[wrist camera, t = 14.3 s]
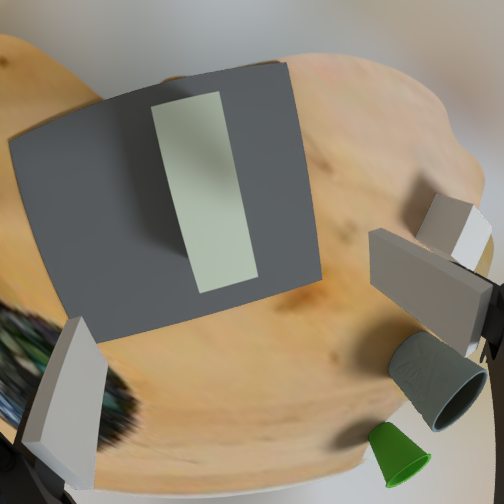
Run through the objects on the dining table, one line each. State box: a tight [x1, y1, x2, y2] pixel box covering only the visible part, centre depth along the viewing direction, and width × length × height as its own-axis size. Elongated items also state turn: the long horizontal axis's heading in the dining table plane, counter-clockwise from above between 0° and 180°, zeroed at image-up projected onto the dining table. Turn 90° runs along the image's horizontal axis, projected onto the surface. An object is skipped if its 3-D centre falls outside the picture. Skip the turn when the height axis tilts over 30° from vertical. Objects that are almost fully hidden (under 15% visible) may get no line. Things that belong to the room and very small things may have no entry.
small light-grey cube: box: [415, 193, 492, 271], centre depth 29 cm, size 6×6×6 cm
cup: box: [368, 422, 431, 488], centre depth 40 cm, size 9×9×11 cm
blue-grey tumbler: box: [388, 331, 487, 432], centre depth 33 cm, size 10×10×12 cm
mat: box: [9, 62, 322, 344], centre depth 24 cm, size 24×20×1 cm
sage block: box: [151, 91, 258, 293], centre depth 21 cm, size 4×6×12 cm
